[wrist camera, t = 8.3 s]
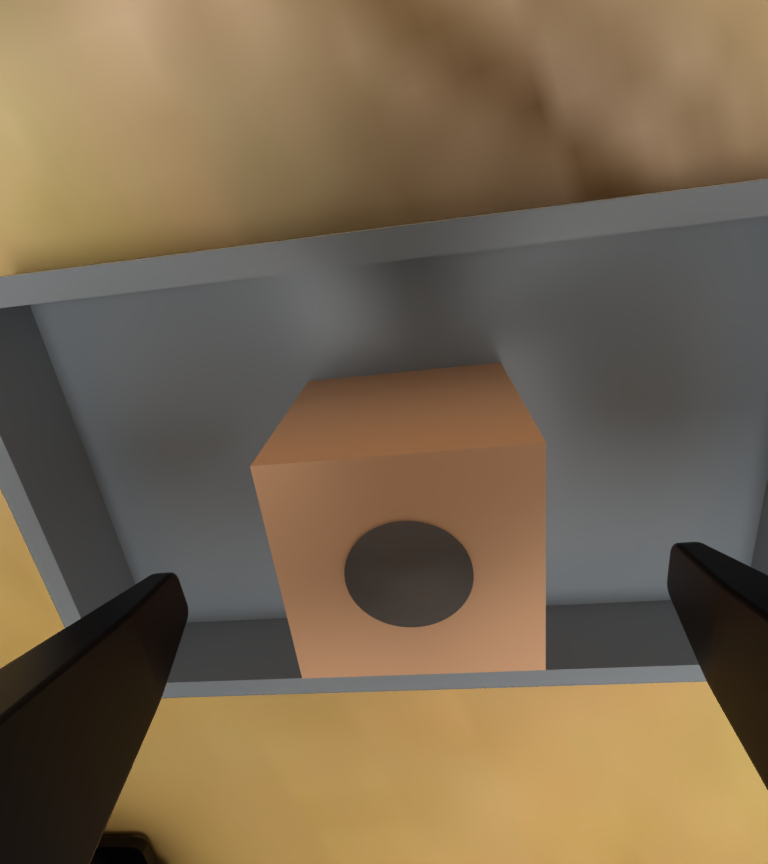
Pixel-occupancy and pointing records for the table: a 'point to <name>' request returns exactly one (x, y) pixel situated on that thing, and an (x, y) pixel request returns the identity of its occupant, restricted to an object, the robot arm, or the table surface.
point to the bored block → (409, 524)
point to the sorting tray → (390, 353)
